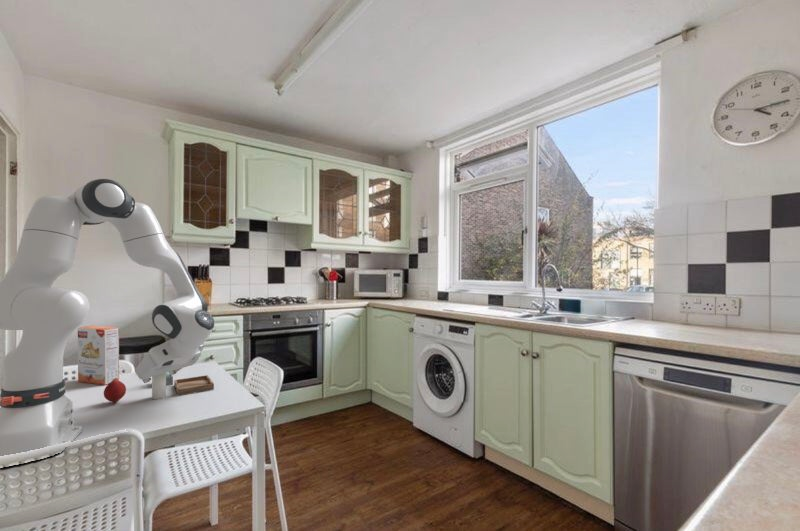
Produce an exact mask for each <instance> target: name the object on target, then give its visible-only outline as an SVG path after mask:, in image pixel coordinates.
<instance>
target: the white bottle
mask: <svg viewBox="0 0 800 531" xmlns="http://www.w3.org/2000/svg"><path fill="white" fill-rule="evenodd" d="M164 397H165V398H166V397H167V386H166V373H163V374H159V375H156V376H152V377H151V399H152V400H162V399H164ZM161 398H162V399H161Z"/></svg>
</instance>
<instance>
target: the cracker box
mask: <svg viewBox="0 0 800 531" xmlns="http://www.w3.org/2000/svg"><path fill="white" fill-rule="evenodd" d="M114 378H118V381H120V328H119V327H116V326H115V327H114V326H105V325H104V326H103V325H87V326H78V327H77V380H78V381H77V382H78V383H79V382H80V383H85V384H93V383H94V385H99V384H100V385H101V386H107V385H108V384H109V383H110V382H112V381H113V379H114ZM100 385H99V386H100Z"/></svg>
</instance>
